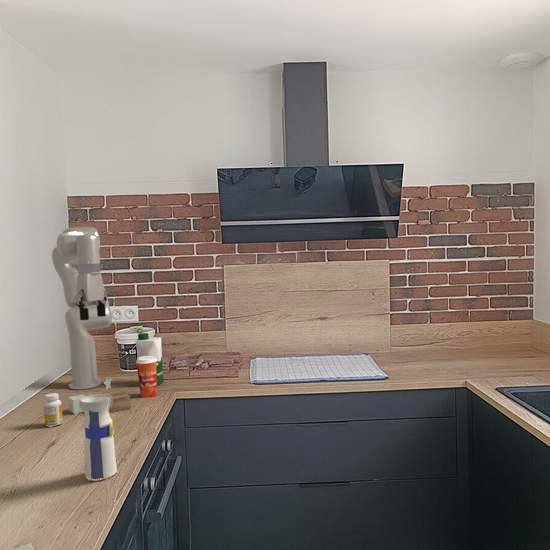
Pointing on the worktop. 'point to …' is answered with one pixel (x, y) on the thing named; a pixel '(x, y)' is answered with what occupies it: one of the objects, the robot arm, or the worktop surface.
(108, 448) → the white blue vase
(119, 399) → the walnut block
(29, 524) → the worktop surface
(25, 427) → the worktop surface
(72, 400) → the sage block
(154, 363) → the paper cup
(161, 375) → the milk carton
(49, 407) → the supplement bottle
